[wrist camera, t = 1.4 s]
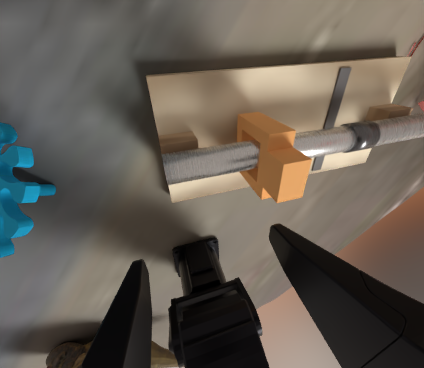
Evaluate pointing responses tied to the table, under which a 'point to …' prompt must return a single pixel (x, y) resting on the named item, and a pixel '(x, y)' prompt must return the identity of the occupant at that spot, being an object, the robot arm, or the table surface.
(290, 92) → the tube stand
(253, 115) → the collar
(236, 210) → the table surface
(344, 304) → the robot arm
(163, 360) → the brown carved figurine
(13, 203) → the gear
